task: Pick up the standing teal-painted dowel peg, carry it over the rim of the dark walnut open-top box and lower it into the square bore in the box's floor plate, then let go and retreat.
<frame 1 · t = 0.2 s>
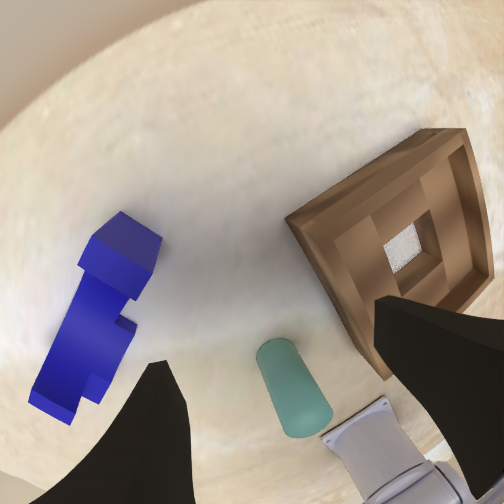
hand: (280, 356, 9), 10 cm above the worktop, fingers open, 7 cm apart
peg box: (395, 243, 21), on the worktop
peg: (276, 354, 21), on the worktop
cable clip: (109, 305, 18), on the worktop
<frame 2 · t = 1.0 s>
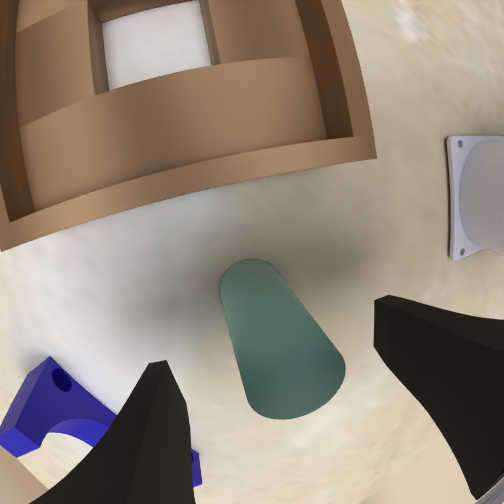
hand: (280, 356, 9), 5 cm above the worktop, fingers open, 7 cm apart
peg box: (154, 47, 10), on the worktop
peg: (250, 288, 15), on the worktop
cable clip: (115, 418, 16), on the worktop
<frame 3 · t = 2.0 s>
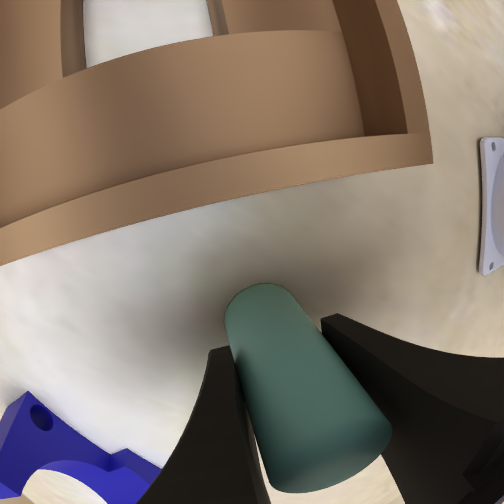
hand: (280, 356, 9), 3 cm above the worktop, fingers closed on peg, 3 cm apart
peg box: (144, 22, 8), on the worktop
peg: (262, 318, 12), on the worktop, touching gripper
cable clip: (103, 453, 13), on the worktop
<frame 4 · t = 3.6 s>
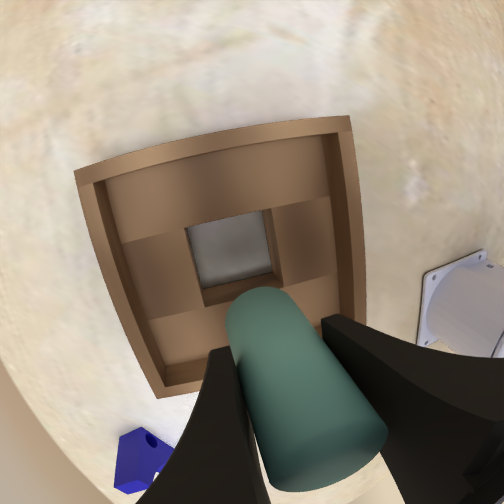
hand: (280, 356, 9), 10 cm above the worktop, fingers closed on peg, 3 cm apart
peg box: (230, 246, 18), on the worktop
peg: (261, 320, 12), point 7 cm above the worktop, touching gripper
cable clip: (180, 455, 24), on the worktop
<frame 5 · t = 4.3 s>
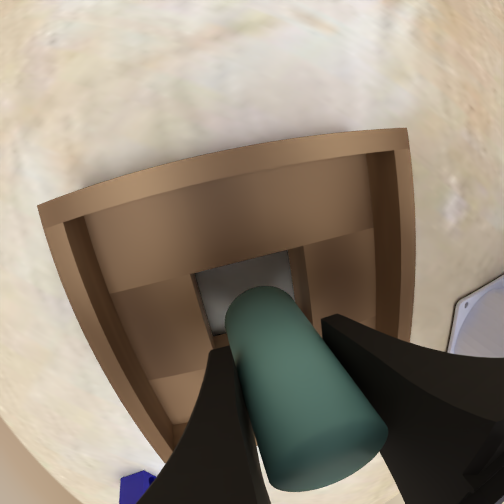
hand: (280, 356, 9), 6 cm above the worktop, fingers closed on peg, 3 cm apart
peg box: (247, 286, 15), on the worktop
peg: (261, 320, 12), point 3 cm above the worktop, touching gripper
cable clip: (186, 493, 20), on the worktop
when the fingers open (4 cm above the worktop, at t = 5.0 s): peg stays where it is, resting in peg box.
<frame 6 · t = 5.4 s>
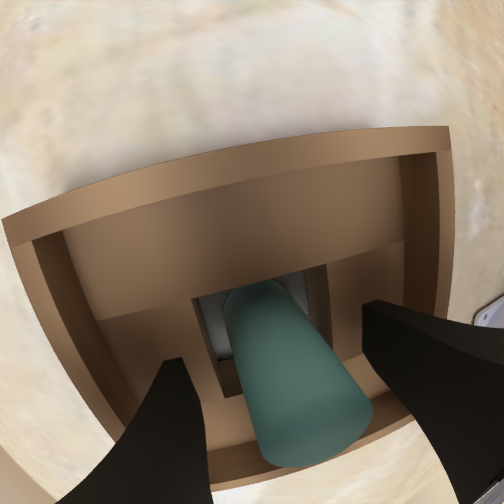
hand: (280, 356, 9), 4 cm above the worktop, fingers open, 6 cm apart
peg box: (256, 307, 13), on the worktop
peg: (257, 310, 13), resting in peg box
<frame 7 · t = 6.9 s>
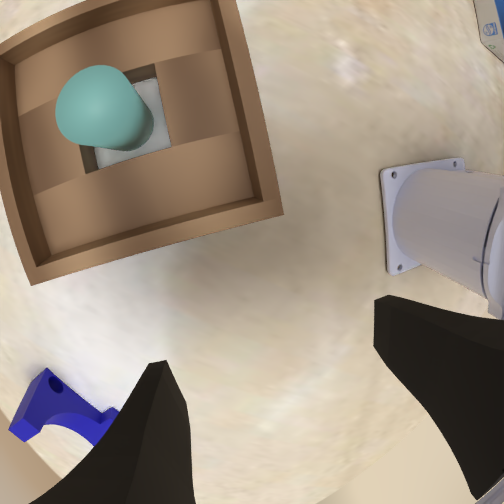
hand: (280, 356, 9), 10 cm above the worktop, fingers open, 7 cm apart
peg box: (127, 122, 15), on the worktop
peg: (128, 125, 15), resting in peg box
cable clip: (97, 413, 20), on the worktop
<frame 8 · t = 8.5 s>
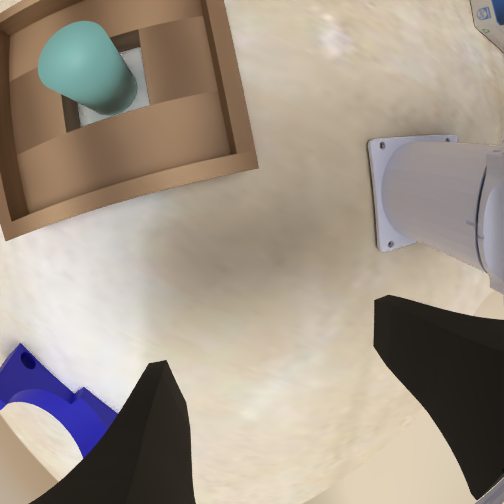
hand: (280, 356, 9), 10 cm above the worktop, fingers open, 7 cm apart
peg box: (111, 88, 14), on the worktop
string lights box: (500, 33, 17), on the worktop
peg: (112, 91, 14), resting in peg box
cable clip: (70, 394, 20), on the worktop
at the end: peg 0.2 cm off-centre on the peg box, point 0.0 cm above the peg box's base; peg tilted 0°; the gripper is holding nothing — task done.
